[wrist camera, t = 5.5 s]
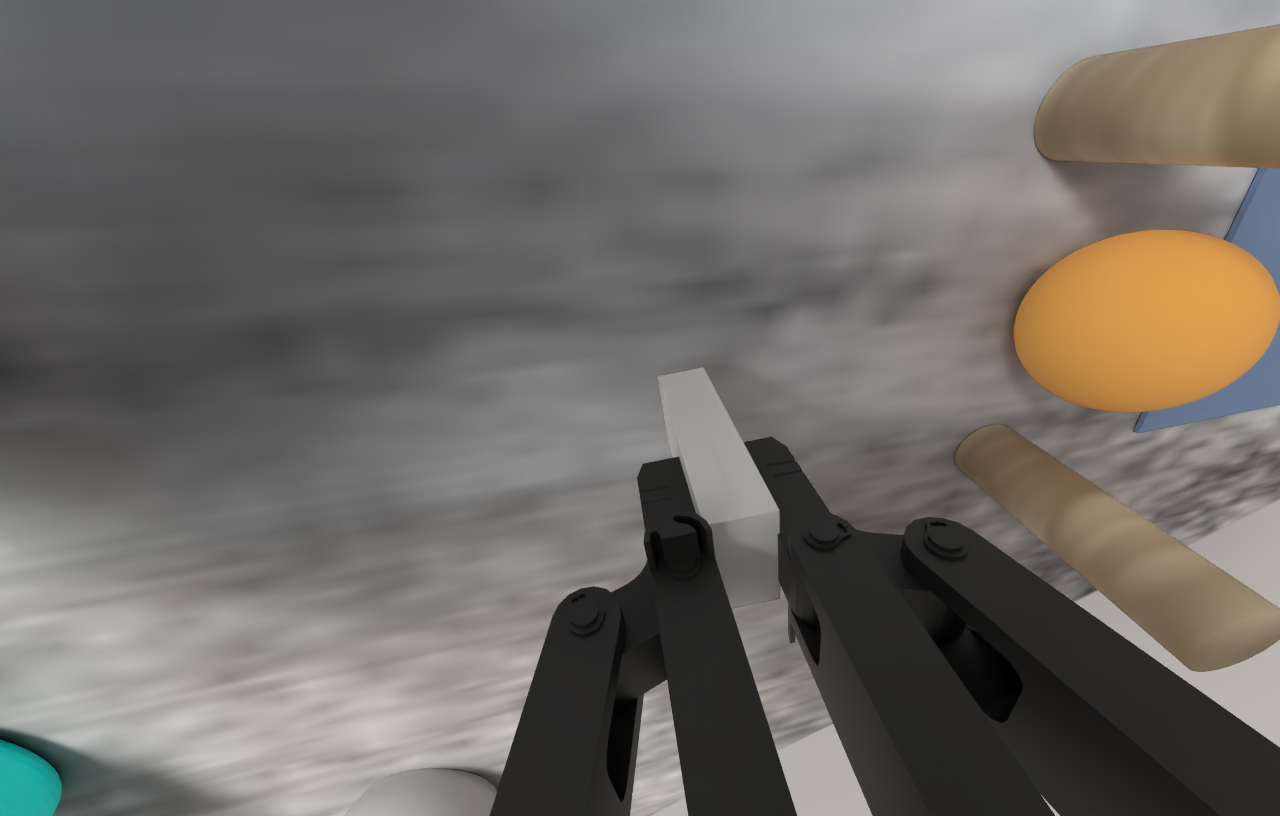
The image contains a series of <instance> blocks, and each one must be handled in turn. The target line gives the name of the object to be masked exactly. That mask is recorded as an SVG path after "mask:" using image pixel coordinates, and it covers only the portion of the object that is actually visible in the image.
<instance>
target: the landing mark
mask: <svg viewBox="0 0 1280 816" xmlns="http://www.w3.org/2000/svg"><path fill="white" fill-rule="evenodd" d="M1225 240H1226V241H1228V242H1231V243H1233V244H1235V245H1237V246H1239V247H1240V248H1242V249H1244V250H1245V251H1247V252H1248V253H1250V254H1251V255H1253V256H1254V257H1255V258H1256V259H1257V260H1258V261H1259V262H1261V264H1262V265H1263V266H1264V267H1265V268H1266V269H1267V271H1268V272H1269V274H1270V275H1271V276H1272V278H1273V280H1274V282H1275V285H1276V287H1277V290H1278V293H1279V297H1280V168H1259V170H1258V172H1257V174H1256V176H1255V178H1254V181H1253V183H1252V185H1251V187H1250V189H1249V191H1248V193H1247V195H1246V197H1245V199H1244V201H1243V203H1242V206H1241V208H1240V210H1239V212H1238V214H1237V216H1236V218H1235V220H1234V222H1233V224H1232V226H1231V229H1230V231H1229V233H1228V235H1227V237H1226V239H1225ZM1277 405H1280V320H1279V324H1278V328H1277V331H1276V333H1275V336H1274V338H1273V340H1272V342H1271V344H1270V346H1269V347H1268V349H1267V350H1266V352H1265V353H1264V355H1263V356H1262V357H1261V358H1260V359H1259V360H1258V361H1257V363H1256V364H1255V365H1254V366H1252V367H1251V368H1250V369H1249V370H1248V371H1247V372H1246V373H1245V374H1243V375H1242V376H1241V377H1239V378H1238V379H1237V380H1235V381H1234V382H1232V383H1231V384H1229V385H1228V386H1226V387H1224V388H1222V389H1220V390H1219V391H1217V392H1215V393H1213V394H1211V395H1208V396H1206V397H1204V398H1201V399H1199V400H1196V401H1194V402H1191V403H1187V404H1184V405H1181V406H1176V407H1172V408H1167V409H1161V410H1155V411H1147V412H1142V414H1141V416H1140V419H1139V421H1138V423H1137V425H1136V427H1135V429H1134V431H1135V432H1137V433H1143V432H1148V431H1153V430H1157V429H1162V428H1167V427H1172V426H1177V425H1182V424H1187V423H1192V422H1197V421H1202V420H1207V419H1212V418H1217V417H1222V416H1227V415H1232V414H1237V413H1242V412H1247V411H1252V410H1257V409H1262V408H1267V407H1272V406H1277Z"/></svg>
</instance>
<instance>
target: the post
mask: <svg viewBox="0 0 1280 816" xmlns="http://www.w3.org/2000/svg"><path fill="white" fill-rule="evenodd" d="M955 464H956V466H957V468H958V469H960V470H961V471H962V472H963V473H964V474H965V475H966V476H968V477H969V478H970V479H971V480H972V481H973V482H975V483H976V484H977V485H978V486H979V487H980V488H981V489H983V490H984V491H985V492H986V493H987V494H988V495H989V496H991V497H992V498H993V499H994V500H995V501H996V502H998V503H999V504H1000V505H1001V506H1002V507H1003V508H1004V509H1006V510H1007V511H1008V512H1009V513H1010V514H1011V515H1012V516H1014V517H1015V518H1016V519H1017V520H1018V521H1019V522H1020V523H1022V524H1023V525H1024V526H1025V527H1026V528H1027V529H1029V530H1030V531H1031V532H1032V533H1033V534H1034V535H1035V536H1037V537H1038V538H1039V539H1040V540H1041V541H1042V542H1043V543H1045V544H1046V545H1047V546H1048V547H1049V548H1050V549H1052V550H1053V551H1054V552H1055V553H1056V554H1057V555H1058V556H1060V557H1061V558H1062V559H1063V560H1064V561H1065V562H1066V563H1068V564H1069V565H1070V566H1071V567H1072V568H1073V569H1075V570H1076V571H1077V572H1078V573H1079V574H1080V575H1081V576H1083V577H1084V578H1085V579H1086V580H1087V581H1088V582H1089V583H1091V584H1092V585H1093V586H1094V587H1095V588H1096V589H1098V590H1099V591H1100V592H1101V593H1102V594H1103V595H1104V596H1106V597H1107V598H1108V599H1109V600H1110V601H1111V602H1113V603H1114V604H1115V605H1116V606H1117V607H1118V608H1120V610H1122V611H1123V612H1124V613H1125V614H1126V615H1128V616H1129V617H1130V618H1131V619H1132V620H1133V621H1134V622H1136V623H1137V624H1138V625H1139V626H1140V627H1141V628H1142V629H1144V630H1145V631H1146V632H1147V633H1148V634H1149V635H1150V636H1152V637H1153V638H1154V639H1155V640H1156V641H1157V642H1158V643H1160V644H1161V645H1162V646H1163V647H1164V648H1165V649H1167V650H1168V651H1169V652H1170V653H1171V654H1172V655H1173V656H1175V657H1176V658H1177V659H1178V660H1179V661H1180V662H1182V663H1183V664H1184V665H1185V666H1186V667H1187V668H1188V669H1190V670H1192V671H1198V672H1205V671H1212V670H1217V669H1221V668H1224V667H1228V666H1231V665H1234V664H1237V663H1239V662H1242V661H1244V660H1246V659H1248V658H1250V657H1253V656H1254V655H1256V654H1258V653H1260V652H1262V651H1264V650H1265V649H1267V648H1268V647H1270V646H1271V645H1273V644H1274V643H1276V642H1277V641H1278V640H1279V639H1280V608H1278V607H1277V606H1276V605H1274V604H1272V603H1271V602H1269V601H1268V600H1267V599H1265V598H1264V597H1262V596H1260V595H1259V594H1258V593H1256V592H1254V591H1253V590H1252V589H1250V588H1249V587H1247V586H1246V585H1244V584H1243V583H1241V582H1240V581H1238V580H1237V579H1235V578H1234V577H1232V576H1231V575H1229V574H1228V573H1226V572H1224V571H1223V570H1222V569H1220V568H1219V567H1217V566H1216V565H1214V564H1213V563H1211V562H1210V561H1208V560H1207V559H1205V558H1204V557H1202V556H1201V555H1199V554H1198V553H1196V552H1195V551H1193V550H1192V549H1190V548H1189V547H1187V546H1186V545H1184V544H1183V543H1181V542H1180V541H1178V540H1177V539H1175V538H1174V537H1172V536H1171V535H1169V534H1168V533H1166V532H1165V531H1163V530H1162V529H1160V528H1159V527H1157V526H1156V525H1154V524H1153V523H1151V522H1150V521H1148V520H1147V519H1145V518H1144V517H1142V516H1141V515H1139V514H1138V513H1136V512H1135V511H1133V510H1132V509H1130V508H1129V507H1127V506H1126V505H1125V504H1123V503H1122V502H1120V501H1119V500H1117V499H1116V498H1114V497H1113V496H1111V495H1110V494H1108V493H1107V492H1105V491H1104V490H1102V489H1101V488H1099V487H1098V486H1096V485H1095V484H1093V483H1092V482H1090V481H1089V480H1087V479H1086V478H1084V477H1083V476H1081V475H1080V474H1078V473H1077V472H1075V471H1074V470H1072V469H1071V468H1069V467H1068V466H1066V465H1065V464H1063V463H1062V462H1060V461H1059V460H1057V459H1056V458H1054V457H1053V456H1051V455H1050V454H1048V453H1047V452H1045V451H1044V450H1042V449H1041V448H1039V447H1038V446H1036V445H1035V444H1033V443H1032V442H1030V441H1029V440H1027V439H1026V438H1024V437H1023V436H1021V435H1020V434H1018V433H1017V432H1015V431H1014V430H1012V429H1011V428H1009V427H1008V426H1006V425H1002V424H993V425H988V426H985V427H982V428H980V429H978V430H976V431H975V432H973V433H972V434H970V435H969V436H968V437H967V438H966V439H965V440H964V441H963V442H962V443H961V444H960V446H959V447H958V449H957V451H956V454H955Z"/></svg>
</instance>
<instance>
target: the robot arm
mask: <svg viewBox="0 0 1280 816" xmlns="http://www.w3.org/2000/svg"><path fill="white" fill-rule="evenodd" d="M657 377H658V383H659V389H660V395H661V401H662V407H663V413H664V419H665V425H666V431H667V437H668V443H669V447H670V451H671V454H672V458H669V459H664V460H659V461H654V462H649V463H644V464H643V465H642V467H641V469H640V472H639V474H638V477H637V480H638V486H639V492H640V499H641V505H642V512H643V518H644V525H645V534H644V546H645V551H646V555H647V563H646V565H645V567H644V569H643V570H642V572H641V573H640V574H639V575H638V576H637V577H636V578H635V579H634V580H632V581H631V582H629V583H628V584H626V585H625V586H623V587H621V588H619V589H617V590H615V591H613V592H609V591H608V590H607V589H604V588H599V587H588V588H582V589H579V590H577V591H575V592H573V593H571V594H569V595H568V596H567V597H566V598H565V599H564V600H563V601H562V602H561V603H560V604H559V605H558V607H557V609H556V611H555V613H554V615H553V617H552V620H551V623H550V626H549V629H548V633H547V636H546V639H545V642H544V645H543V648H542V652H541V655H540V658H539V661H538V664H537V667H536V670H535V674H534V677H533V680H532V683H531V686H530V689H529V693H528V696H527V699H526V702H525V705H524V708H523V712H522V715H521V718H520V721H519V724H518V727H517V730H516V734H515V737H514V740H513V743H512V746H511V749H510V753H509V756H508V759H507V762H506V765H505V768H504V772H503V775H502V778H501V781H500V784H499V787H498V791H497V794H496V797H495V800H494V803H493V806H492V809H491V813H490V816H630V809H631V801H632V792H633V783H634V775H635V766H636V757H637V749H638V740H639V731H640V723H641V714H642V705H643V697H644V693H646V692H647V691H649V690H650V689H652V688H654V687H655V686H657V685H659V684H660V683H662V682H663V681H665V680H667V681H668V688H669V694H670V701H671V707H672V713H673V720H674V726H675V733H676V739H677V745H678V752H679V758H680V765H681V771H682V778H683V784H684V790H685V797H686V803H687V809H688V816H797V814H796V811H795V807H794V804H793V801H792V798H791V795H790V791H789V788H788V785H787V782H786V779H785V776H784V773H783V770H782V766H781V763H780V760H779V757H778V754H777V751H776V747H775V744H774V741H773V738H772V735H771V732H770V729H769V725H768V722H767V719H766V716H765V713H764V710H763V707H762V703H761V700H760V697H759V694H758V691H757V688H756V685H755V681H754V678H753V675H752V672H751V669H750V666H749V663H748V659H747V656H746V653H745V650H744V647H743V644H742V640H741V637H740V634H739V631H738V628H737V625H736V622H735V618H734V615H733V612H732V608H737V607H742V606H746V605H751V604H756V603H761V602H766V601H771V600H776V599H780V585H781V587H782V589H783V591H784V594H785V596H786V598H787V600H788V634H789V639H790V643H793V642H795V634H796V637H797V639H798V641H799V644H800V646H801V648H802V651H803V653H804V655H805V658H806V660H807V663H808V665H809V667H810V670H811V672H812V674H813V677H814V679H815V681H816V684H817V686H818V688H819V691H820V693H821V695H822V698H823V700H824V702H825V705H826V707H827V710H828V712H829V714H830V717H831V719H832V721H833V724H834V726H835V728H836V731H837V733H838V735H839V738H840V740H841V742H842V745H843V747H844V749H845V752H846V754H847V757H848V759H849V761H850V764H851V766H852V768H853V771H854V773H855V775H856V778H857V780H858V782H859V785H860V787H861V789H862V792H863V794H864V796H865V799H866V801H867V804H868V806H869V808H870V811H871V813H872V815H873V816H1055V815H1054V813H1053V812H1052V811H1051V809H1050V808H1049V806H1048V805H1047V803H1046V802H1045V800H1044V799H1043V797H1044V798H1045V799H1046V801H1047V802H1048V803H1049V804H1050V805H1051V806H1052V807H1053V808H1054V809H1055V810H1056V811H1057V812H1058V814H1060V816H1280V748H1279V747H1278V746H1277V745H1275V744H1274V743H1273V742H1271V741H1270V740H1268V739H1267V738H1266V737H1264V736H1263V735H1261V734H1260V733H1258V732H1257V731H1256V730H1254V729H1253V728H1251V727H1250V726H1248V725H1247V724H1246V723H1244V722H1243V721H1241V720H1240V719H1239V718H1237V717H1236V716H1234V715H1233V714H1232V713H1230V712H1229V711H1227V710H1226V709H1224V708H1223V707H1222V706H1220V705H1219V704H1217V703H1216V702H1215V701H1213V700H1212V699H1210V698H1209V697H1207V696H1206V695H1205V694H1203V693H1202V692H1200V691H1199V690H1197V689H1196V688H1195V687H1193V686H1192V685H1191V684H1189V683H1188V682H1186V681H1185V680H1183V679H1182V678H1181V677H1179V676H1178V675H1176V674H1175V673H1174V672H1172V671H1171V670H1169V669H1168V668H1166V667H1165V666H1163V665H1162V664H1161V663H1159V662H1158V661H1156V660H1155V659H1154V658H1152V657H1151V656H1149V655H1148V654H1147V653H1145V652H1144V651H1142V650H1141V649H1139V648H1138V647H1137V646H1135V645H1134V644H1132V643H1131V642H1130V641H1128V640H1127V639H1125V638H1124V637H1123V636H1121V635H1120V634H1118V633H1117V632H1115V631H1114V630H1113V629H1111V628H1110V627H1108V626H1107V625H1106V624H1104V623H1103V622H1101V621H1100V620H1098V619H1097V618H1096V617H1094V616H1093V615H1091V614H1090V613H1089V612H1087V611H1086V610H1084V609H1083V608H1081V607H1080V606H1079V605H1077V604H1076V603H1074V602H1073V601H1072V600H1070V599H1069V598H1067V597H1066V596H1065V595H1063V594H1062V593H1060V592H1059V591H1057V590H1056V589H1055V588H1053V587H1052V586H1050V585H1049V584H1048V583H1046V582H1045V581H1043V580H1042V579H1040V578H1039V577H1038V576H1036V575H1035V574H1033V573H1032V572H1031V571H1029V570H1028V569H1026V568H1025V567H1023V566H1022V565H1021V564H1019V563H1018V562H1016V561H1015V560H1014V559H1012V558H1011V557H1009V556H1008V555H1006V554H1005V553H1004V552H1002V551H1001V550H999V549H998V548H997V547H995V546H994V545H992V544H991V543H989V542H988V541H987V540H985V539H984V538H982V537H981V536H980V535H978V534H977V533H975V532H974V531H973V530H971V529H969V528H967V527H965V526H963V525H961V524H960V523H958V522H954V521H951V520H947V519H944V518H931V517H926V518H922V519H918V520H915V521H913V522H912V523H911V524H909V525H908V526H907V527H906V530H905V533H904V535H894V534H878V533H869V532H863V531H859V530H856V529H855V528H854V527H853V526H852V525H851V524H850V523H849V522H848V521H846V520H844V519H842V518H840V517H838V516H836V515H833V514H831V513H830V511H829V510H828V508H827V507H826V505H825V504H824V502H823V501H822V499H821V498H820V496H819V495H818V493H817V492H816V490H815V489H814V487H813V486H812V484H811V483H810V481H809V480H808V478H807V477H806V475H805V474H804V472H802V469H801V468H800V466H799V465H798V463H797V462H795V459H794V457H793V456H792V454H791V453H790V451H789V450H788V448H787V447H786V446H785V445H783V444H782V443H780V442H779V441H777V440H775V439H774V438H772V437H768V438H763V439H758V440H753V441H748V442H743V441H742V439H741V437H740V435H739V433H738V431H737V429H736V428H735V426H734V424H733V422H732V420H731V418H730V416H729V414H728V412H727V411H726V409H725V407H724V405H723V403H722V401H721V399H720V397H719V395H718V394H717V392H716V390H715V388H714V386H713V384H712V382H711V380H710V378H709V377H708V375H707V373H706V371H705V369H704V367H702V368H697V369H692V370H687V371H682V372H677V373H672V374H667V375H662V376H657ZM1040 794H1041V795H1042V796H1043V797H1042V796H1041V795H1040Z"/></svg>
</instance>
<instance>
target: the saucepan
mask: <svg viewBox="0 0 1280 816" xmlns="http://www.w3.org/2000/svg"><path fill="white" fill-rule="evenodd" d="M496 794H497V791H496V788H495V787H494V786H493V785H492V784H491V783H490V782H489V781H487V780H486V779H484V778H482V777H480V776H478V775H475V774H472V773H468V772H464V771H459V770H451V769H420V770H411V771H406V772H401V773H397V774H394V775H391V776H388V777H386V778H384V779H381V780H379V781H378V782H376V783H374V784H373V785H372V786H371V787H370V788H369V789H368V790H367V791H366V792H365V793H364V794H363V795H362V796H361V797H360V798H359V799H358V800H357V801H356V802H355V803H354V804H353V805H352V806H351V808H350V809H349V810H348V812H347V813H346V814H345V815H344V816H490V813H491V809H492V806H493V803H494V800H495V797H496Z"/></svg>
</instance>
